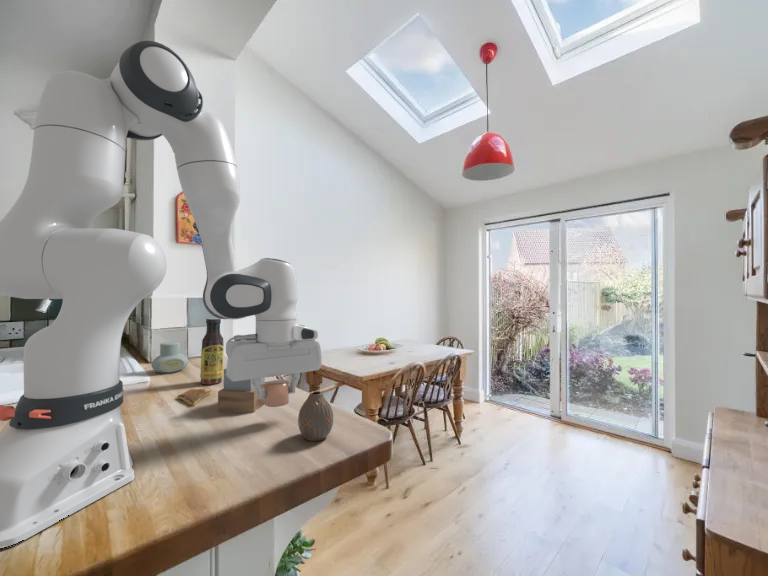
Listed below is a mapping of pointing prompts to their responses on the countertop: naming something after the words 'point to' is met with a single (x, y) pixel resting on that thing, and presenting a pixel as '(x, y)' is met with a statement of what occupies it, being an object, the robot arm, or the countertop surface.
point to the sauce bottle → (212, 353)
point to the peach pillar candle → (277, 393)
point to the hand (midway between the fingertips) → (276, 395)
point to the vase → (315, 417)
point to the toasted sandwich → (194, 396)
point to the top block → (239, 384)
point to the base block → (239, 400)
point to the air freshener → (169, 358)
